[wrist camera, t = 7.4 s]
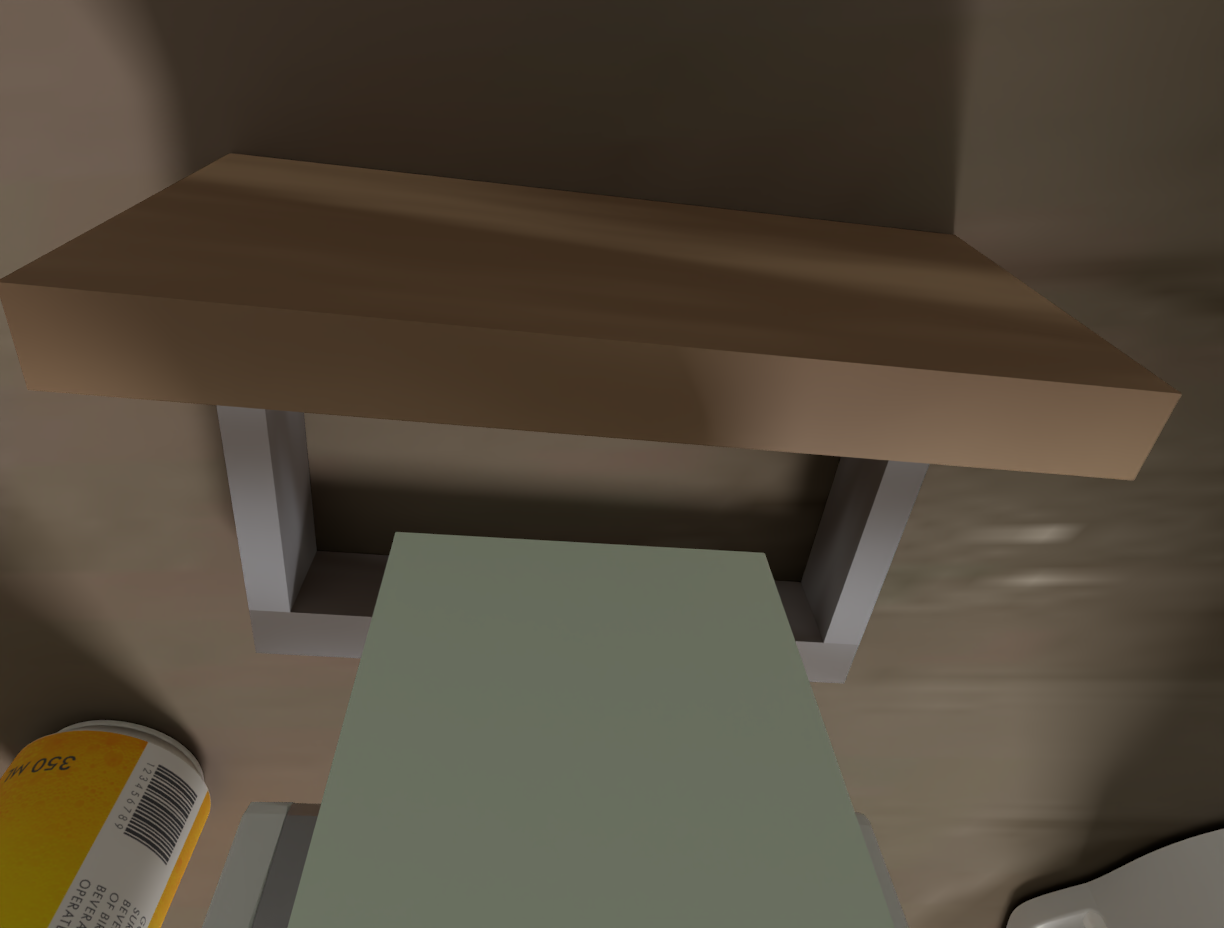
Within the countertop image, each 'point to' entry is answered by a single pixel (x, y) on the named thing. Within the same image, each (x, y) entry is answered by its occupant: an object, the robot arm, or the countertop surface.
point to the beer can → (98, 827)
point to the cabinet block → (583, 750)
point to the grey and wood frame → (569, 355)
